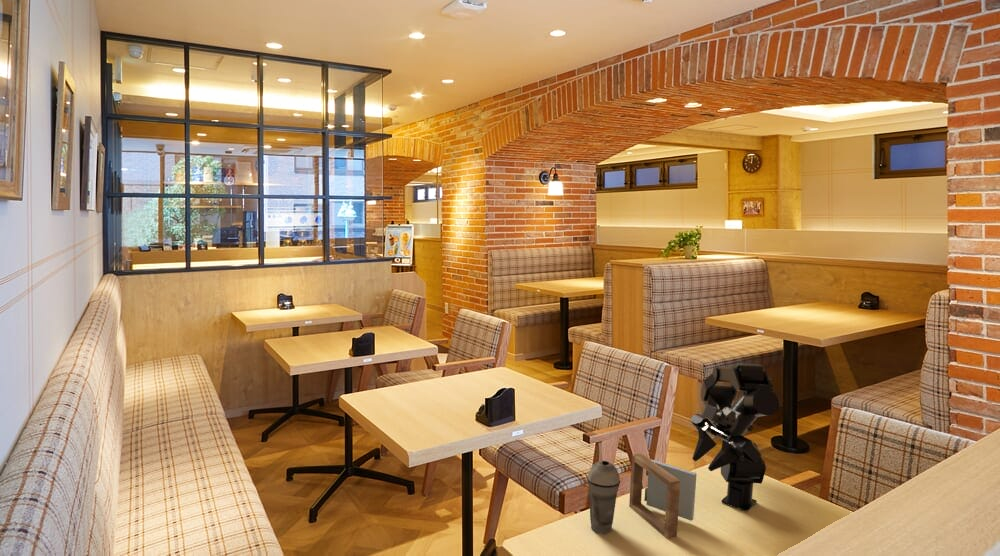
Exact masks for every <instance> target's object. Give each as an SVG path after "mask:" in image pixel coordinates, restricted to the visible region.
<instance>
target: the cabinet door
mask: <svg viewBox="0 0 1000 556" xmlns="http://www.w3.org/2000/svg"><path fill="white" fill-rule="evenodd" d="M650 460H651V461H653V462H654V463H655V464H657V465H658V466H660V467H661V468H663V469H664V470H666V471H667V472H668V473H670V474H671V475H673V476H674V477H676V478H677V479H679V480H680V495H679V510H678V518H682V519H685V520H687V521H690V522H692V521H693V520H694V518H695V517H694V516H695V501H696V500H695V499H696V484H697V472H693V471H691V470H687V469H684V468H682V467H678V466H675V465H671V464H668V463H664V462H663V461H658V460H654V459H650ZM645 476H646V477H647V486H646V487H645V488H644V501H645V502H646V506H649V507H651V508H655V509H656V510H659V511H662V512H665V511H666V495H667V485H666V484H665V483H663V482H662V481H661V480H659V479H658V478H656V477H655V476H654V475H652V474H651V473H650V472H648V471H647V470H645Z"/></svg>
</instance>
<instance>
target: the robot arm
mask: <svg viewBox="0 0 1000 556" xmlns="http://www.w3.org/2000/svg"><path fill="white" fill-rule="evenodd" d="M718 382H727V383H728V382H729V383H730V385H727V384H718ZM773 387H774V385H773V382H772V380H771V378H770V377H769V375H768V373H767V371H766V369H764V366H763V365H762V364H749V363H735V364H734V363H733V364H732V365H731V366H719V365H718V366H715V367H713V369H712V373H711V374H710V375H708V376H707V377H706V378H705V379H704V380H703V381H702V385H701V388H700V399H701V401H702V402H703V404H704V406H705V407H704V409H703V411H702V414H699V413H695V414H693V415H692V416H691V418H690V419H689V422H690V423H691V425H693V426H694V427H695V429H696V430H697V431H698V432H697V433H698V440H697V443H696V447H695V449H694V451H693V455H692V457H691V458H692V460H693V461H694V462H697V461H699V460H701V458H703V457H704V456H705V455H707V453H708V452H710V451H711V450H712V449H713V448H715V447H717V444H718V443H717V442H715V440H714V439H715V437H716V438H718V439H719V440H722V443H721V448H720V450H719V451H718V453H717V454H716V455H715V456H714V458H713V459H712V460H711V463H709V465H708V467H707V469H708V470H709V471H710V472H713V471H715V470H717V469H720V475H721V476H722V478H723V479H724V480H725V482H726V483H727V491H726V495H725V496H724V497H723V498H722V499H721V503H722V504H724V505H727V506H730V507H733V508H736V509H738V510H742V511H744V512H749V511H750V510H751V509H752V508H753V507H754V506H755V505H756V504H757V500H756V499H754V498H753V491H754V484H760V485H761V484H763V482H764V481H763V480H764V478H765V475H766V474H765V473H766V471H767V466H766V463H765V460H764V459H763V458H762V451H761V450H760V449H759V446H758V445H757V444H756V443H755V442H753V441H752V440H751V439H749V438H747V437H745V435H744V434H745V433H746V432H747V431H749V432H752V431H753V430H754V427H753V426H752V425H753V423H754V422H755V421H756V420H757V418H759V417H764V416H765V417H767V416H772V415H774V414H776V413H777V411H778V410H779V408H780V400H779V398H778V395H776V394H775V392H774V388H773ZM738 392H742V393H741V395H740V396H739V397H738V398H737V399H736V396H737V393H738ZM735 399H736V401H735Z"/></svg>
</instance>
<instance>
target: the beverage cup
mask: <svg viewBox="0 0 1000 556" xmlns="http://www.w3.org/2000/svg"><path fill="white" fill-rule="evenodd" d="M598 450H599V451H598V452H599V453H598V454H599V461H596V462H595V463H593V464H592V465H591V466H590V468H589V470H588V474H587V476H586V480H587V485H588V486H587V487H588V494H589V495H588V496H589V516H590V518H589V520H590V529H591V530H592V531H593V532H594V533H596V534H598V535H599V534H600V535H607V534H610V533H611V532H612V529H613V527H612V526H613V522H614V518H615V517H614V516H615V510H616V509H615V508H616V502H617V497H618V496H617V495H618V491H619V488H620V483H621V479H620V474H619V471H618V469H617V467H616V465H614V464H613V463H612V462H610V461H608V460H603V451H602V442H601V441H600V442H598Z"/></svg>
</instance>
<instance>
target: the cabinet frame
mask: <svg viewBox="0 0 1000 556" xmlns="http://www.w3.org/2000/svg"><path fill="white" fill-rule="evenodd" d="M630 467H631V468H630V483H629V484H630V487H629V503H628V507H629V508H630V509H632V510H633V511H634V512H635V513H636V514H637V515H639V516H640V517H641V518H642V520H645V521H646V523H648V524H649V525H651V527H652V528H654V529H655V530H656V531H657V532H658V533H660V534H661V536H662V537H664V538H666V539H667V540H669V539H674V538H677V536H678V524H679V523H678V521H679V516H678V510H679V495H680V480H679V479H677V478H676V477H674V476H673V475H671V474H670V473H668V472H667V471H666V470H664V469H663V468H661V467H660V466H658V465H657V464H655V463H654V462H653V461H651V459H650V458H648V457H647V456H645V455H644V454H642V453H636V454H632V455H631V466H630ZM644 470H645V471H646V470H647V471H648V472H650V473H651V474H652V475H654V476H655V477H656V478H658V479H659V480H661V481H662V482H663V483H665V484H666V485H667V495H666V511H664V512H665V514H664V515H665V516H664V521H663V520H662V518H660V517H659V516H657V515H656V514H655V513H654V512H652V511H651V510H650V509H649V508H648V507H647V506H645V505H644V504H643V503H642V497H643V496H642V492H643V480H644V478H643V476H644Z"/></svg>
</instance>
